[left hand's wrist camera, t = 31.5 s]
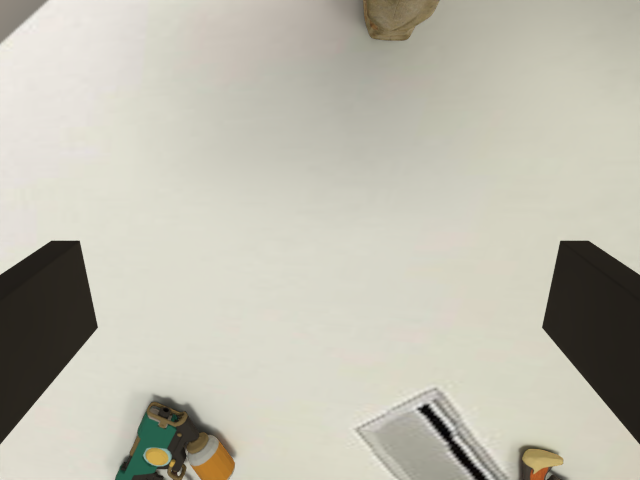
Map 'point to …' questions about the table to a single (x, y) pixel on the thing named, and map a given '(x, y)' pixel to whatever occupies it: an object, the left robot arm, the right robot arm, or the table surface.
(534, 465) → the toy gun
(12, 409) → the left robot arm
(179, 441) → the spray gun
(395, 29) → the sculpture
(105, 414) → the table surface
